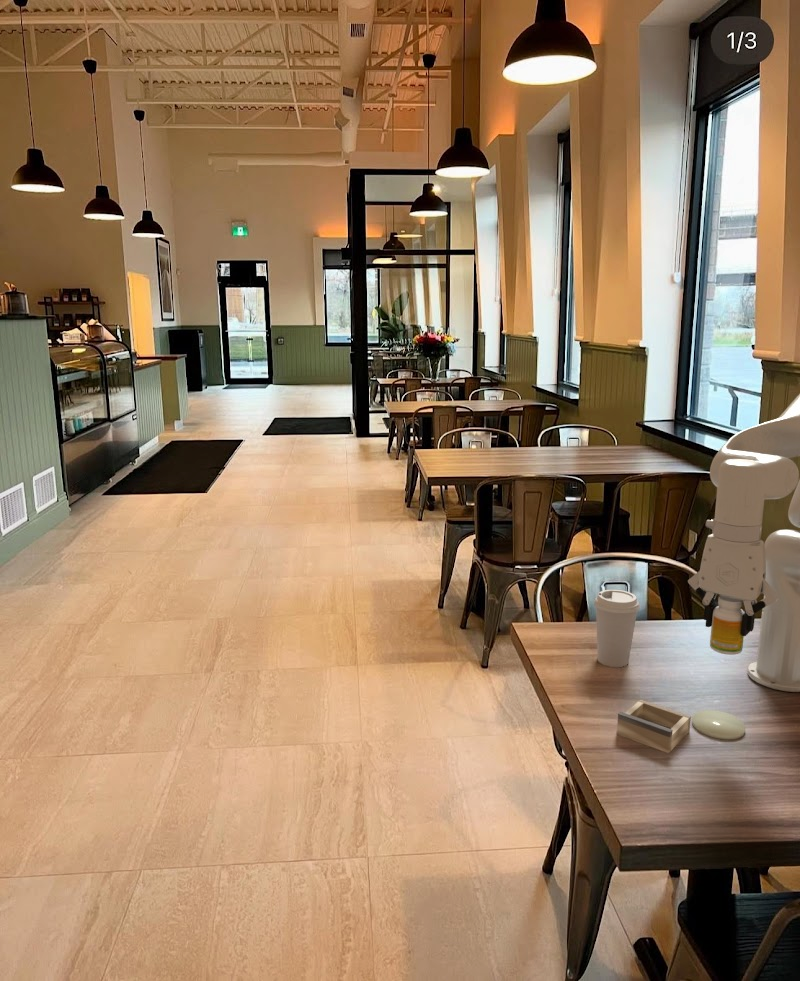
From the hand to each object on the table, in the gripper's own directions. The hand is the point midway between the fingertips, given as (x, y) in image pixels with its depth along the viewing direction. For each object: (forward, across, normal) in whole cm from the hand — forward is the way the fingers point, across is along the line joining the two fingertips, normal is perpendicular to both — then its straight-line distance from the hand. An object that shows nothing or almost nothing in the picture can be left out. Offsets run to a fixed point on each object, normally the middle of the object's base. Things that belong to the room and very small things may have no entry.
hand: (727, 628), depth 136 cm
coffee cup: (+19, -27, +13) cm, 36 cm away
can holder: (+19, -8, -10) cm, 23 cm away
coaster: (+19, 0, 0) cm, 19 cm away
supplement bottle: (+4, 0, 0) cm, 4 cm away
